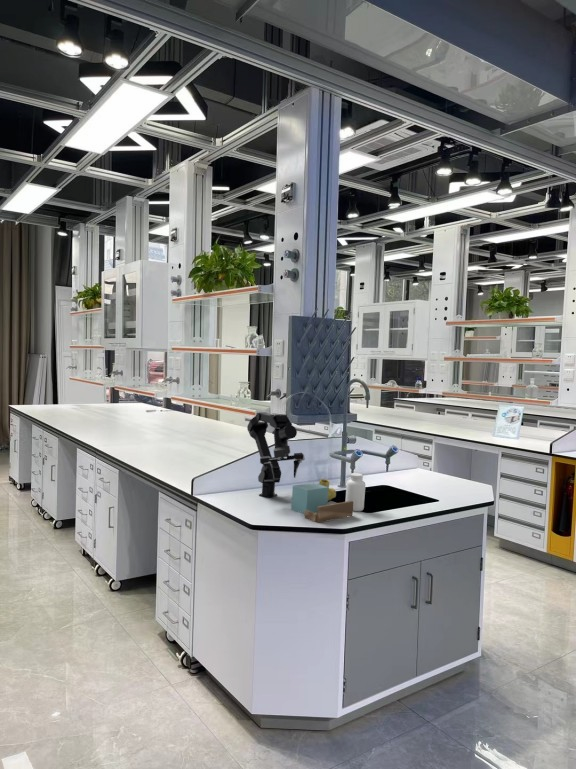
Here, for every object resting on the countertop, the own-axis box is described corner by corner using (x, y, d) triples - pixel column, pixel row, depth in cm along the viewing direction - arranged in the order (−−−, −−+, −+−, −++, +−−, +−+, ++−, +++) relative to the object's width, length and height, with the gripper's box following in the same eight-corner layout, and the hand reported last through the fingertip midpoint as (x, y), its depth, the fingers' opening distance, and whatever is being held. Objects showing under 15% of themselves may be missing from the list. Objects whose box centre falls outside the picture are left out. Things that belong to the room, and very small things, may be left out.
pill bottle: (349, 511, 237) (351, 476, 237) (342, 506, 245) (344, 472, 244) (366, 511, 240) (369, 476, 239) (359, 506, 247) (361, 472, 247)
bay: (304, 518, 223) (305, 502, 223) (339, 511, 237) (340, 497, 237) (317, 522, 218) (318, 507, 217) (353, 515, 231) (354, 501, 231)
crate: (291, 509, 236) (292, 485, 235) (312, 505, 244) (313, 482, 243) (306, 514, 229) (307, 490, 228) (326, 510, 237) (328, 487, 236)
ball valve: (336, 502, 255) (321, 494, 262) (338, 481, 253) (324, 473, 260) (314, 507, 247) (300, 499, 255) (317, 485, 245) (302, 477, 253)
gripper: (256, 442, 240) (259, 479, 236) (300, 437, 237) (303, 475, 233) (261, 445, 250) (263, 481, 246) (303, 441, 248) (306, 477, 244)
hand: (284, 478), depth 242 cm, fingers open, 9 cm apart
